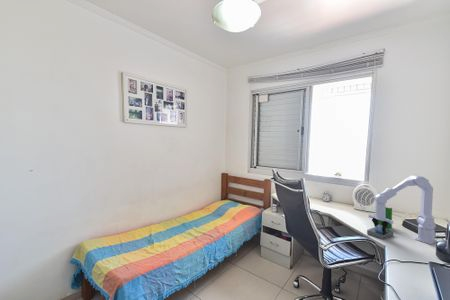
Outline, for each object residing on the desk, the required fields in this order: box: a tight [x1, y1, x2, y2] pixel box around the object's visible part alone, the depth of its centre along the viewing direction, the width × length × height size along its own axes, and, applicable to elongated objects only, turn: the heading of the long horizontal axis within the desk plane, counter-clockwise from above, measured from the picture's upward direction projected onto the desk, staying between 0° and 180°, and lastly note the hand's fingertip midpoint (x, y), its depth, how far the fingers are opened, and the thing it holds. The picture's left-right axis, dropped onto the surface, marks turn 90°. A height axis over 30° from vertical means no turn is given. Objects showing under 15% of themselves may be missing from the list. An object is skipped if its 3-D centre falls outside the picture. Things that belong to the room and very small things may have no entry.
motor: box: [378, 207, 393, 229], centre depth 157 cm, size 10×9×20 cm
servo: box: [373, 225, 383, 233], centre depth 142 cm, size 7×4×6 cm, turn 117°
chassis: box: [366, 226, 395, 241], centre depth 142 cm, size 14×10×3 cm
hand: (380, 230), depth 142 cm, fingers closed on servo, 4 cm apart
